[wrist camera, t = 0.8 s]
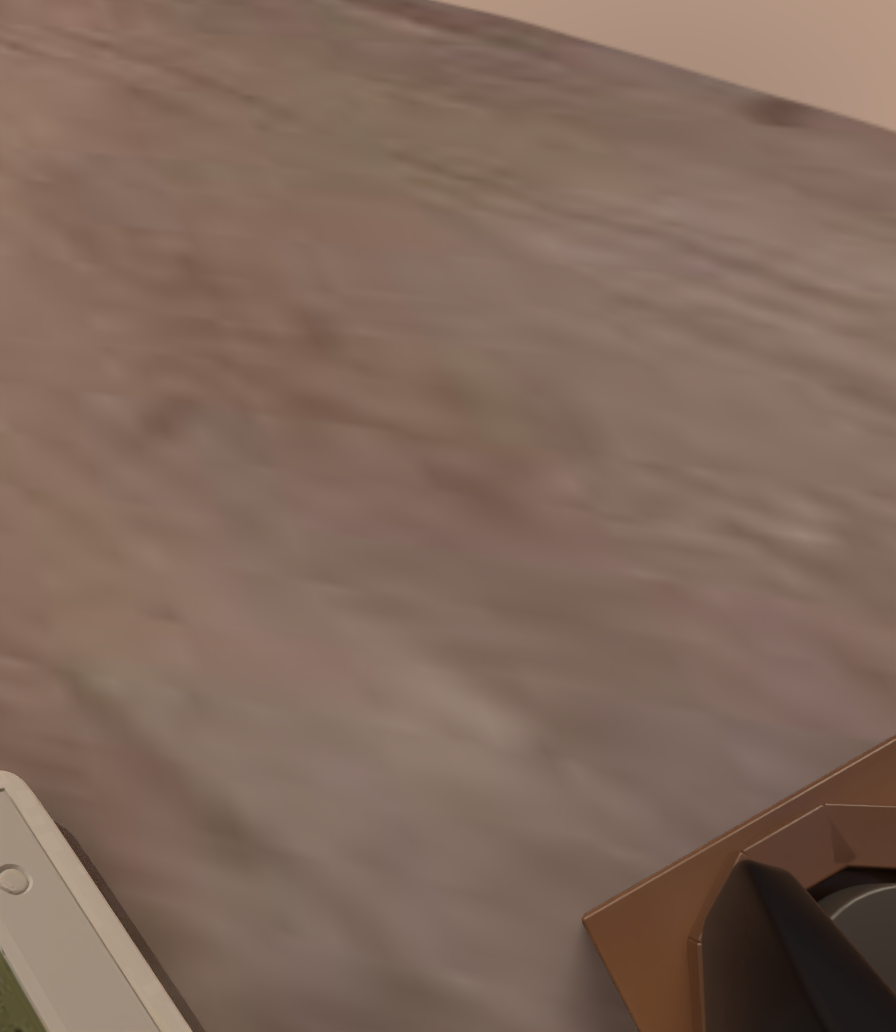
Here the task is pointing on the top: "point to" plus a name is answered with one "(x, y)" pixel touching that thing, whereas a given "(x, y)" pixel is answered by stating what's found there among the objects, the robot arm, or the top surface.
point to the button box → (701, 874)
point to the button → (868, 923)
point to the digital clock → (65, 937)
